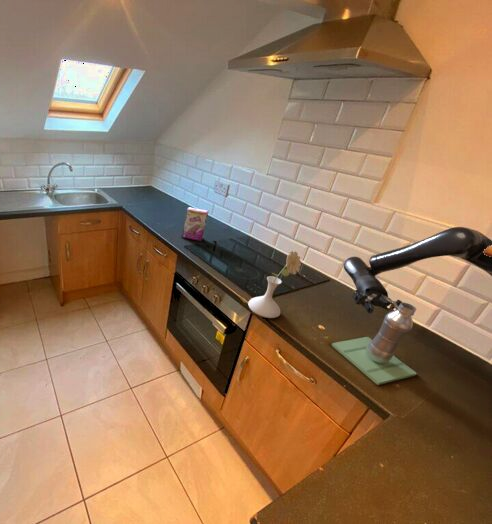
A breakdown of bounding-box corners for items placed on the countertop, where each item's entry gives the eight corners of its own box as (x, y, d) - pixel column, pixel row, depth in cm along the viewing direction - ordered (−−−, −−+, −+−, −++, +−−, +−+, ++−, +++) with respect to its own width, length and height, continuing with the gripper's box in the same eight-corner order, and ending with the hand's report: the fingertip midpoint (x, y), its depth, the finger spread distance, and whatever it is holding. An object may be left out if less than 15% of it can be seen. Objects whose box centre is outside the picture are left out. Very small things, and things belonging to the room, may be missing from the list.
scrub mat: (366, 338, 103) (367, 336, 102) (415, 375, 89) (417, 373, 89) (331, 345, 98) (332, 342, 97) (377, 385, 85) (379, 382, 84)
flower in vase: (257, 322, 105) (279, 259, 93) (241, 302, 114) (260, 243, 103) (289, 320, 107) (315, 259, 96) (271, 301, 117) (293, 243, 105)
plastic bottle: (367, 362, 91) (400, 310, 81) (359, 348, 96) (390, 297, 87) (391, 369, 89) (428, 316, 80) (382, 353, 95) (415, 302, 86)
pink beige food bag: (181, 237, 165) (186, 209, 157) (183, 234, 169) (188, 206, 162) (201, 241, 163) (208, 213, 155) (202, 238, 167) (208, 210, 159)
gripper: (352, 275, 107) (367, 298, 93) (398, 285, 103) (420, 311, 90) (344, 292, 110) (356, 317, 97) (387, 303, 107) (407, 331, 93)
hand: (387, 315), depth 93 cm, fingers open, 8 cm apart
